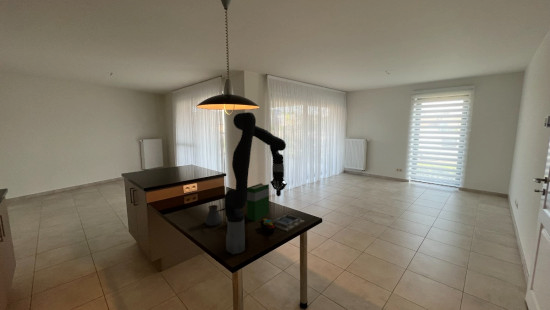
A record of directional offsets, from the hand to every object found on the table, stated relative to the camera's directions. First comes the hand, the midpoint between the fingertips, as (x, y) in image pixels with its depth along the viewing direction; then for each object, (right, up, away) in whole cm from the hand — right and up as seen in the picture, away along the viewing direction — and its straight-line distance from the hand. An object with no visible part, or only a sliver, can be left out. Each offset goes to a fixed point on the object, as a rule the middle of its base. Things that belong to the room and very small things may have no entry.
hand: (278, 195), depth 144 cm
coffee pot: (-41, -22, +5) cm, 47 cm away
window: (+6, -21, +9) cm, 24 cm away
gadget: (-5, -23, -4) cm, 24 cm away
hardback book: (-15, -20, +21) cm, 33 cm away
